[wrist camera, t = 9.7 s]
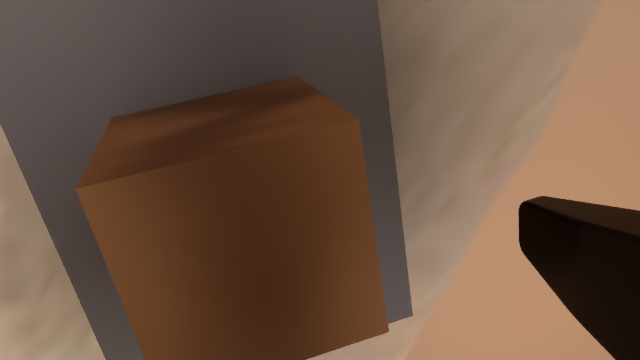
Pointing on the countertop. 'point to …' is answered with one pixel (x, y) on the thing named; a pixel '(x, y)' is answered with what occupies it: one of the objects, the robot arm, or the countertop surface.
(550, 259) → the robot arm
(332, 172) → the walnut cube
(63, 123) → the book
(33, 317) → the countertop surface
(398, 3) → the countertop surface
